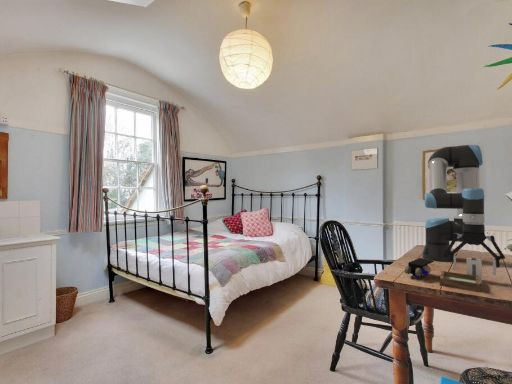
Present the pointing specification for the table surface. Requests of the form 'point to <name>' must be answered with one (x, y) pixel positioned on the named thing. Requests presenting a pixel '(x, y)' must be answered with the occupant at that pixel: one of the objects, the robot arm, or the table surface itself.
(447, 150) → the robot arm
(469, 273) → the strip block
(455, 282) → the brown wooden square tray
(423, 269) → the figurine character
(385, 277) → the table surface
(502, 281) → the table surface
